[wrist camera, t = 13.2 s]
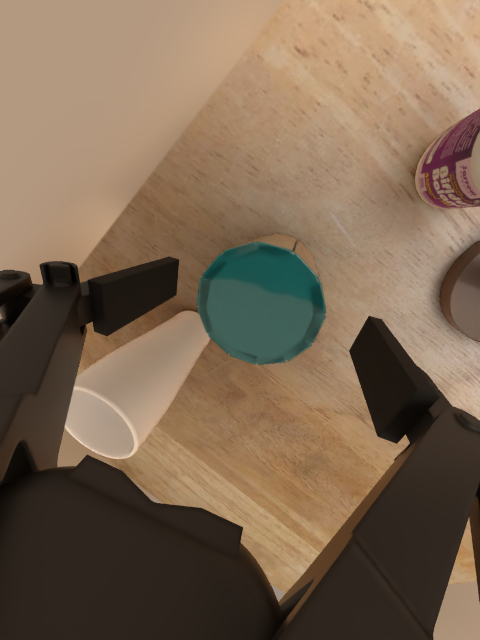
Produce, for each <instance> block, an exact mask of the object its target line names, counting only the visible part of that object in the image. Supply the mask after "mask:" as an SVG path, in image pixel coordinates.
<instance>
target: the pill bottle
mask: <svg viewBox="0 0 480 640" xmlns="http://www.w3.org/2000/svg"><path fill="white" fill-rule="evenodd" d="M415 186H416V189H417V192H418V194H419V196H420V197H421V199H422V200H423V201H424V202H426V203H427V204H428V205H430V206H433V207H437V208H448V209H449V208H465V207H477V206H480V109H478V110H477V111H475V112H474V113H472V114H471V115H469V116H467V117H466V118H464V119H463V120H461V121H459V122H458V123H456V124H455V125H453V126H452V127H450V128H449V129H447V130H446V131H445V132H443V133H442V134H440V135H439V136H438V137H437V138H436V139H435V140H434V141H433V142H432V143H431V144H430V146H429V147H428V148H427V149H426V151H425V152H424V154H423V156H422V157H421V159H420V161H419V163H418V166H417V170H416V175H415Z"/></svg>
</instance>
